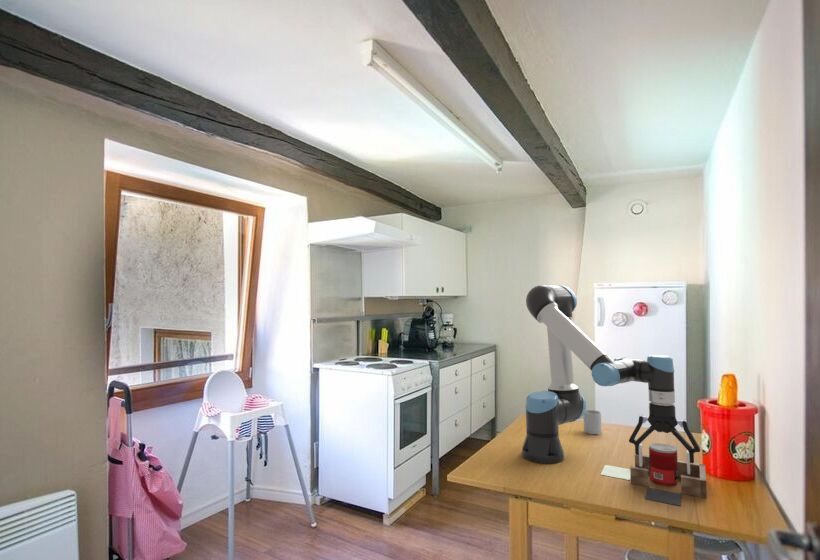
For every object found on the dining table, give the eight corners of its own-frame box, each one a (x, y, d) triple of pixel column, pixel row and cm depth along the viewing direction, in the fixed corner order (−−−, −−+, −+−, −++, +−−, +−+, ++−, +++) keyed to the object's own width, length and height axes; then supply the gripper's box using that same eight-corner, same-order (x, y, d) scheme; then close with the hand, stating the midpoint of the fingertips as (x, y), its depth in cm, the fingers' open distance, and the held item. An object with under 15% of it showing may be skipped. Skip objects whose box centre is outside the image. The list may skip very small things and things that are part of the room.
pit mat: (645, 499, 135) (645, 498, 135) (647, 487, 143) (647, 487, 143) (680, 506, 130) (680, 505, 130) (681, 494, 138) (681, 493, 138)
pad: (600, 474, 153) (600, 474, 153) (605, 465, 162) (605, 464, 162) (629, 480, 149) (629, 479, 149) (633, 470, 157) (633, 469, 157)
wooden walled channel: (630, 483, 146) (630, 467, 146) (635, 468, 159) (635, 453, 159) (706, 498, 136) (706, 481, 136) (705, 480, 148) (704, 464, 148)
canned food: (681, 487, 143) (680, 451, 144) (654, 485, 145) (653, 450, 145) (672, 477, 151) (672, 443, 151) (646, 475, 152) (646, 442, 153)
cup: (581, 432, 200) (580, 412, 201) (591, 427, 207) (591, 407, 207) (597, 436, 195) (596, 415, 195) (607, 431, 202) (606, 410, 202)
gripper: (618, 401, 152) (620, 465, 151) (707, 409, 139) (710, 480, 138) (621, 397, 158) (623, 458, 158) (706, 404, 145) (709, 472, 144)
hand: (664, 469), depth 148 cm, fingers open, 13 cm apart
